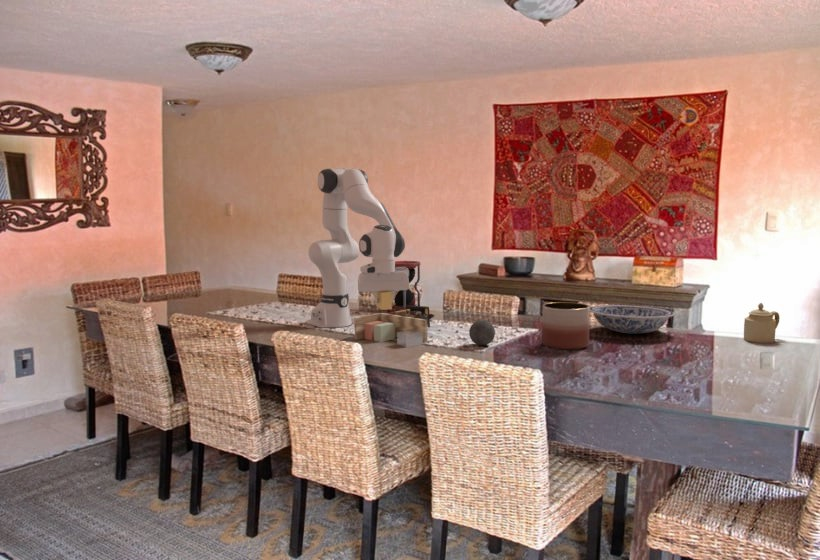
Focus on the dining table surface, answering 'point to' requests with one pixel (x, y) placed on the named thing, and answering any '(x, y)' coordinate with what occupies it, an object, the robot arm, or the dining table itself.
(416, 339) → the block
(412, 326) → the shelf corner
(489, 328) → the decorative ball
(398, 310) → the brown owl figurine
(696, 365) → the dining table surface
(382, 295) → the book
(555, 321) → the planter
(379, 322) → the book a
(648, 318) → the ceramic bowl
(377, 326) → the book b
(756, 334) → the sugar bowl
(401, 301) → the hourglass
